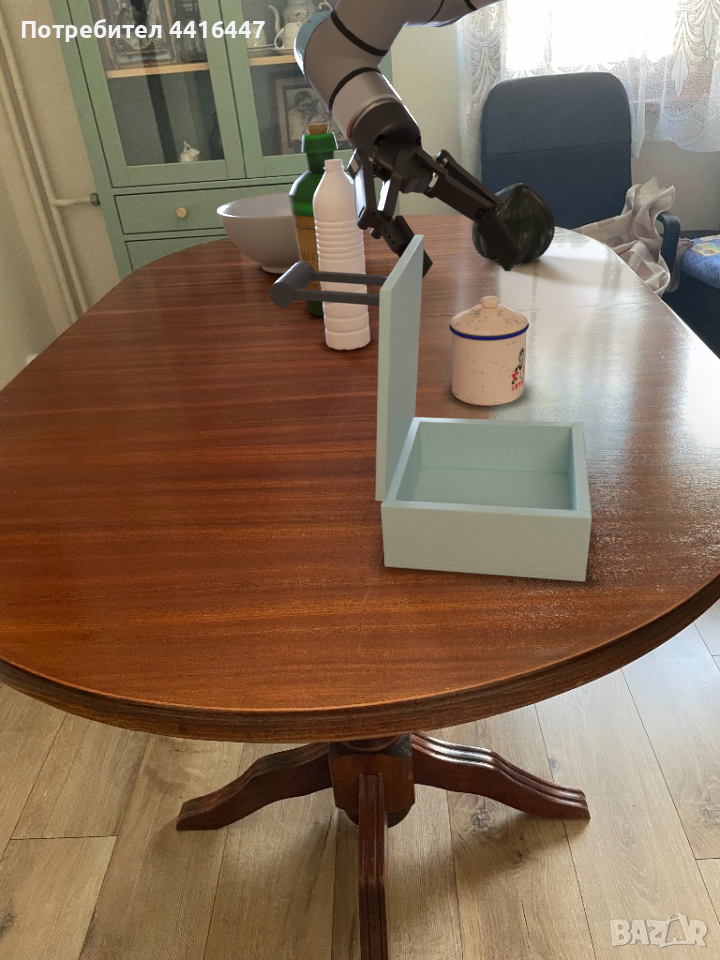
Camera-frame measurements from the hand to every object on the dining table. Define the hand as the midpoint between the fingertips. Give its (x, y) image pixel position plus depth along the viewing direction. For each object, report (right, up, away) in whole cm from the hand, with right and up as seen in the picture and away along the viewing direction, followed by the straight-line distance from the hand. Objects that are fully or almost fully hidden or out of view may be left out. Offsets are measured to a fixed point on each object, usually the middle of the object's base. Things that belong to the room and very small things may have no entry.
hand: (471, 268), depth 77 cm
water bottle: (-12, -3, +30) cm, 32 cm away
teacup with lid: (+4, -11, +13) cm, 17 cm away
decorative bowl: (-26, +21, +71) cm, 79 cm away
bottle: (-16, +5, +44) cm, 47 cm away
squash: (+17, +20, +63) cm, 68 cm away
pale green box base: (0, -26, -12) cm, 29 cm away
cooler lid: (-8, -13, -18) cm, 24 cm away
